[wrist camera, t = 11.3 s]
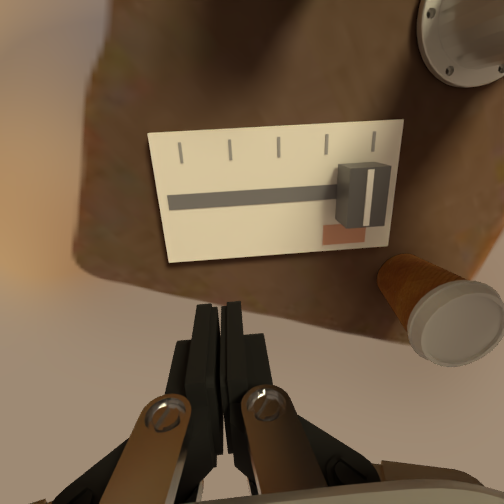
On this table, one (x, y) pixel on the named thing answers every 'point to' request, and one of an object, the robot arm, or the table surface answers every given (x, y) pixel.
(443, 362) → the disposable coffee cup
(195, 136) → the fader console
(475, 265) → the table surface
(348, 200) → the fader knob
